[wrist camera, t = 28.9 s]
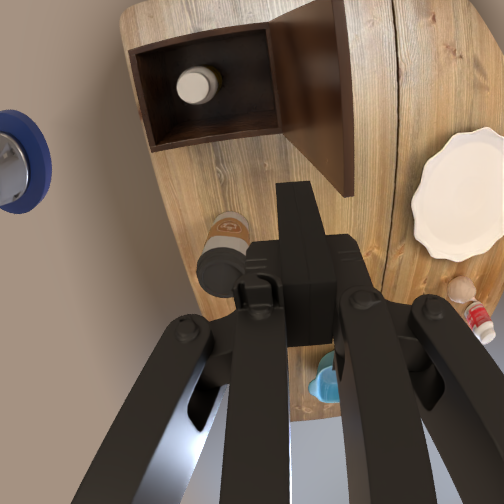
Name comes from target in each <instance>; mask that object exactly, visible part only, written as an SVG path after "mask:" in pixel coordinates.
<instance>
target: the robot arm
mask: <svg viewBox="0 0 504 504" xmlns="http://www.w3.org/2000/svg"><path fill="white" fill-rule="evenodd" d="M30 179H31V167H30V161H29V158H28V155H27V152H26V150H25V148H24V147H23V145H22V144H21V142H20V141H19V140H18V139H17V138H16V137H15V136H14V135H12V134H10V133H8V132H4V131H0V206H2V205H5V204H8V203H11V202H13V201H16V200H17V199H19V198H20V197H21V196H22V195H23V194H24V193H25V192H26V191H27V189H28V187H29V184H30ZM276 197H277V213H278V230H279V240H269V241H257V242H252V243H251V245H250V246H249V247H248V249H247V250H246V257H245V270H244V275H242V276H240V277H239V278H238V279H237V280H236V281H235V282H234V284H233V287H232V292H233V296H234V301H235V306H236V310H235V311H234V312H232V313H231V314H229V315H228V316H225V317H223V318H220V319H217V320H213V321H210V322H209V321H208V320H207V319H205V318H204V317H203V316H200V315H197V314H187V315H184V316H180V317H178V318H176V319H175V320H173V321H172V322H171V323H170V324H169V325H168V326H167V328H166V330H165V331H164V333H163V335H162V336H161V338H160V340H159V341H158V343H157V345H156V347H155V348H154V350H153V352H152V354H151V355H150V357H149V359H148V361H147V362H146V364H145V366H144V368H143V370H142V371H141V373H140V375H139V376H138V378H137V380H136V382H135V384H134V385H133V387H132V389H131V391H130V393H129V394H128V396H127V398H126V400H125V402H124V404H123V405H122V407H121V409H120V411H119V412H118V414H117V416H116V418H115V420H114V422H113V424H112V425H111V427H110V429H109V431H108V433H107V435H106V436H105V438H104V440H103V442H102V444H101V446H100V448H99V450H98V451H97V454H96V455H95V457H94V459H93V461H92V463H91V465H90V467H89V469H88V471H87V473H86V474H85V477H84V479H83V480H82V482H81V484H80V486H79V488H78V490H77V492H76V494H75V496H74V498H73V500H72V502H71V504H180V502H181V499H182V497H183V495H184V492H185V490H186V487H187V485H188V483H189V480H190V478H191V475H192V473H193V470H194V468H195V466H196V463H197V461H198V458H199V456H200V453H201V451H202V448H203V446H204V443H205V440H206V438H207V436H208V433H209V431H210V428H211V426H212V423H213V421H214V418H215V415H216V413H217V410H218V408H219V405H220V403H221V400H222V398H223V395H224V392H225V390H226V387H227V384H230V386H229V396H228V409H227V419H226V430H225V443H224V453H223V465H222V477H221V490H220V501H219V504H292V496H291V495H292V494H291V493H292V488H291V487H292V486H291V434H290V399H289V373H288V353H287V347H298V346H311V345H323V344H332V339H334V345H335V349H334V358H333V365H332V371H335V370H336V378H337V385H338V393H339V400H340V408H341V417H342V425H343V433H344V443H345V453H346V465H347V477H348V489H349V503H350V504H437V499H436V492H435V486H434V480H433V474H432V469H431V463H430V459H429V453H428V449H427V444H426V439H425V434H424V431H423V426H422V422H421V419H422V421H423V423H424V424H425V426H426V428H427V430H428V432H429V434H430V436H431V438H432V440H433V442H434V444H435V446H436V448H437V450H438V452H439V454H440V456H441V458H442V460H443V462H444V464H445V466H446V468H447V470H448V472H449V474H450V476H451V478H452V480H453V483H454V485H455V487H456V489H457V491H458V493H459V496H460V498H461V500H462V502H463V504H504V374H503V373H502V371H501V370H500V368H499V367H498V366H497V364H496V363H495V361H494V360H493V359H492V357H491V356H490V354H489V353H488V352H487V350H486V349H485V348H484V346H483V345H482V344H481V342H480V341H479V340H478V338H477V337H476V336H475V334H474V333H473V332H472V330H471V329H470V328H469V327H468V325H467V324H466V323H465V322H464V320H463V319H462V318H461V317H460V315H459V314H458V313H457V312H456V310H455V309H454V308H453V307H452V305H451V304H450V303H449V302H448V301H446V300H445V299H444V298H442V297H440V296H437V295H432V294H426V295H421V296H419V297H418V298H416V299H415V300H414V302H413V304H412V305H407V304H400V303H395V302H391V301H388V300H386V299H385V298H384V297H383V295H382V294H381V292H379V291H378V290H377V289H375V288H374V287H373V284H372V282H371V279H370V276H369V273H368V271H367V268H366V265H365V263H364V260H363V257H362V255H361V252H360V249H359V247H358V244H357V242H356V240H354V239H353V238H352V237H351V236H350V235H349V234H337V235H325V231H324V228H323V224H322V221H321V217H320V213H319V210H318V207H317V203H316V200H315V196H314V193H313V190H312V186H311V183H310V181H299V182H286V183H276Z"/></svg>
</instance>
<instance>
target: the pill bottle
mask: <svg viewBox="0 0 504 504" xmlns="http://www.w3.org/2000/svg"><path fill="white" fill-rule="evenodd" d="M464 314H465V317H466V319H467V321H468V323H469V325H470V327H471V329H472V331H473V333H474V334H475V336H476V337H477V338H478V339H480V341H481V343H482V344H487V343H489V342H490V341H492V340H493V339H494V337H495V336H496V333H495V331H494V330H493V327H494V325H493V322H492V320H491V319H490V317H489V315H488V313H487V311H486V310H485V308H484V306H483V304H482V303H481V302H479V301H478V302H476V303H475V302H474V303H472V304H470V305H469V306H468V307H467V308H466V310H465V313H464Z"/></svg>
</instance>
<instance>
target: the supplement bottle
mask: <svg viewBox="0 0 504 504" xmlns="http://www.w3.org/2000/svg"><path fill="white" fill-rule="evenodd" d="M222 82H223V80H222V75H221V73H220V71H219V70H218V69H217V68H215V67H214V66H211V65H206V64H204V65H198V66H194V67H190V68H188V69H186V70H185V71H184V72H183V73H182V74H181V75H180V77H179V78H178V81H177V92H178V95H179V96H180V98H181V99H182V100H184V101H185V102H187V103H189V104H193V105H199V104H204V103H206V102H208V101H210V100H211V99H212V98H213V97H214V96H215V95H216V94H217V93H218V92H219V90H220V89H221V87H222Z"/></svg>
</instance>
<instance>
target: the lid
mask: <svg viewBox="0 0 504 504" xmlns="http://www.w3.org/2000/svg"><path fill="white" fill-rule="evenodd" d="M269 28H270V35H271V42H272V49H273V57H274V64H275V72H276V80H277V88H278V96H279V105H280V113H281V122H282V131H283V135H284V136H285V137H286V138H287V139H288V140H289V141H290V142H291V143H292V144H293V145H294V146H295V147H296V148H297V149H298V150H299V151H300V152H301V153H302V154H303V155H304V156H305V157H306V158H307V159H308V160H309V161H310V162H311V163H312V164H313V165H314V166H315V167H316V168H317V169H318V170H319V171H320V173H321V174H322V175H323V176H324V177H325V178H326V179H327V180H328V181H329V182H330V183H331V184H332V185H333V186H334V187H335V188H336V190H337V191H338V192H339V193H340V194H341V195H342V196H343V197H344V198H346V197H352V196H354V115H353V93H352V77H351V64H350V52H349V42H348V32H347V23H346V15H345V7H344V0H315V1H313V2H310V3H308V4H305V5H303V6H301V7H299V8H296V9H294V10H292V11H290V12H288V13H285V14H283V15H281V16H279V17H277V18H275V19H273V20H271V21H269Z"/></svg>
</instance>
